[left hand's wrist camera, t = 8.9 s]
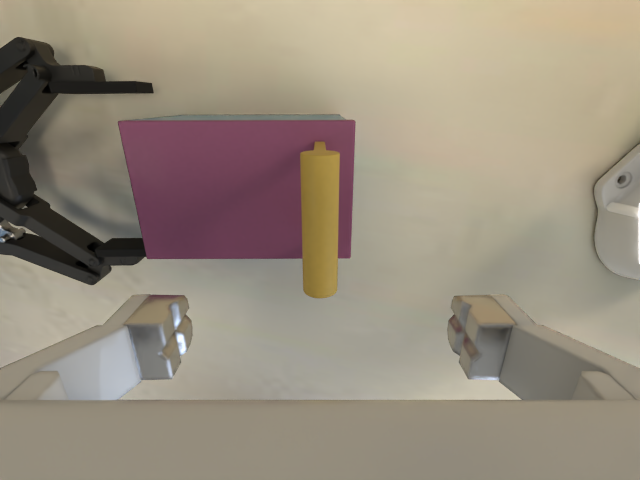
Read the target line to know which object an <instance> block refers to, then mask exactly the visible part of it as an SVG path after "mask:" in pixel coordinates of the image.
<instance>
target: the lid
mask: <svg viewBox="0 0 640 480" xmlns="http://www.w3.org/2000/svg"><path fill="white" fill-rule="evenodd" d="M118 125H119V130H120V134H121V139H122V144H123V149H124V153H125V158H126V163H127V167H128V172H129V177H130V181H131V186H132V191H133V195H134V200H135V205H136V209H137V214H138V219H139V223H140V228H141V233H142V237H143V242H144V247H145V251H146V256H147V259H297V258H303V290H304V292H305V294H307V295H308V296H310V297H313V298H327V297H330V296H332V295H334V294H335V293H336V291H337V269H338V258H350V257H351V231H352V203H353V175H354V146H355V121H354V120H125V121H118Z"/></svg>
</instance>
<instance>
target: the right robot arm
mask: <svg viewBox="0 0 640 480" xmlns="http://www.w3.org/2000/svg"><path fill="white" fill-rule="evenodd" d="M21 79H22V80H21ZM20 80H21V81H20ZM18 81H20V82H19V84H18V85H17V86H16V88H15V89H14V90H13V92H12V93H11V94H10V96H9V97H8V98H7V100H6V101H5V102H4V104H3V105H2V106H1V108H0V254H3V255H13V256H15V257H18V258H21V259H23V260H26V261H29V262H31V263H34V264H36V265H39V266H42V267H44V268H47V269H50V270H52V271H55V272H57V273H60V274H63V275H65V276H68V277H71V278H73V279H76V280H78V281H81V282H84V283H86V284H89V285H94V284H96V283H97V282H98V281H100V280H101V279H102V278H103V277H105V276H106V275H107V274H108V273H110V272H111V266H110V265H134V264H137V263H138V262H139V261H141V260H142V259H143V258H144V257H147V256H146V251H145V247H144V242H143V238H112V239H110V240H109V241H107V242H106V243H103V242H102V241H100V240H99V239H97V238H96V237H94V236H92V235H91V234H89V233H88V232H86V231H85V230H83V229H82V228H80V227H78V226H77V225H75V224H74V223H72V222H71V221H69V220H68V219H66V218H64V217H63V216H61V215H60V214H58V213H57V212H55V211H53V210H52V209H51V208H50V204H49V203H47V202H46V201H44V200H43V199H41V198H40V197H38V196H36V195H35V194H34V191H36V190H37V188H36V185H35V182H34V180H33V179H32V177H31V175H30V174H29V164H28V161H27V158H26V155H22V154H21V153H20V152H19V150H18V149H19V148H20V146H21V145H22V144H23V143H24V141H25V140H26V139H27V138H28V135H27V133H28V131H29V130H30V129H31V128H32V126H33V125H34V124H35V123H36V121H37V120H38V119H39V118H40V116H41V115H42V114H43V113H44V111H45V110H46V109H47V108H48V106H49V105H50V104H51V103H52V101H53V100H54V99H55V98H56V96H57V95H58V94H59V93H64V94H123V93H153V87H152V83H146V82H137V81H109V82H106V80H105V76H104V71H103V70H102V69H100V68H97V67H93V66H86V65H59V64H58V63H57V62H56V60H55V58H54V50H53V48H52V47H51V46H50V45H49V44H47V43H44V42H39V41H35V40H30V39H26V38H21V37H17V38H15V39H13V40H12V41H10V42H9V43H8V44H6V45H5V46H3V47H2V48H0V94H1V93H2V92H4V91H5V90H7V89H8V88H10V87H11V86H13V85H14V84H15V83H17V82H18ZM25 205H26V206H27V208H24V209H22V208H23V207H24V206H25ZM9 222H10V223H12V224H14V225H16V226H24V227H26V228H28V229H29V230H31V231H33V232H34V233H36V234H37V235H39V236H37V235H33V234H28V233H26V231H25V230H24V229H23V228H20V229H18V228H15V227H12V226H11V225H10V224H9ZM40 236H41V237H40Z"/></svg>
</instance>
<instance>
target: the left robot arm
mask: <svg viewBox="0 0 640 480" xmlns="http://www.w3.org/2000/svg"><path fill="white" fill-rule="evenodd" d="M619 177H620V180H619V181H618V178H619ZM594 196H595V201H596V205H597V208H598V217H597V222H596V227H595V234H594V241H595V248H596V251H597V254H598V256H599V258H600V260H601V262H602V263H603V264H604V265H605V266H606V267H607V268H608V269H609V270H611V271H612V272H614V273H616V274H618V275H620V276H623V277H627V278H632V279H636V280H640V143H639V144H638V145H637V146H636V147H635V148H634V149H632V150H631V151H630V152H629V153H628V154H627V155H626V156H625V157H624V158H622V159H621V160H620V161H619V162H618V163H617V164H616V165H615V166H614V167H612V168H611V169H610V170H609V171H608V172H607V173H606V174H605V175H604V176H602V177H601V178H600V179H599V180H598V182H597V183H596V185H595V187H594ZM188 309H189V304H188V300H187V298H186V297H185V296H184V295H133V296H131V297H130V298H129V299H128V300H127V301H126V302H125V303H124V304H123V305H122V306H121V307H120V308H119V309H118V310H117V311H116V312H115V313H114V314H113V315H112V316H111V317H110V318H109V319H108V320H107V321H106V322H105V323H104V324H103V325H97V326H95V327H92V328H90V329H88V330H85V331H83V332H81V333H79V334H76V335H74V336H72V337H70V338H67V339H65V340H63V341H61V342H58V343H56V344H54V345H52V346H49V347H47V348H45V349H43V350H40V351H38V352H36V353H34V354H31V355H29V356H27V357H25V358H22V359H20V360H18V361H16V362H13V363H11V364H9V365H7V366H4V367H2V368H0V480H640V368H638V367H635V366H633V365H631V364H629V363H626V362H624V361H622V360H620V359H617V358H615V357H613V356H611V355H608V354H606V353H604V352H602V351H599V350H597V349H595V348H593V347H590V346H588V345H586V344H584V343H581V342H579V341H577V340H575V339H572V338H570V337H568V336H566V335H563V334H561V333H559V332H557V331H554V330H552V329H550V328H548V327H545V326H543V325H537V324H536V323H535V322H534V321H533V320H532V319H531V318H530V317H529V316H528V315H527V314H526V313H525V312H524V311H523V310H522V309H521V308H520V307H519V306H518V305H517V304H516V303H515V302H514V301H513V300H512V299H511V298H510V297H509V296H507V295H504V294H501V295H468V296H454V298H453V300H452V304H451V309H452V311H453V312H454V315H453V316H452V317H451V318H450V320H449V321H448V329H447V331H448V340H449V343H450V346H451V348H452V350H453V352H455V353H456V354H458V355H459V356H460V359H459V363H460V365H461V367H462V369H463V370H464V372H465V374H466V376H467V378H468V379H482V380H499V382H500V383H502V384H503V385H504V386H505V387H507V388H508V389H509V390H510V391H512V392H513V393H514V394H516V395H517V396H518V397H519V398H521V399H522V400H118V399H119V398H121V397H122V396H123V395H125V394H126V393H127V392H128V391H130V390H131V389H132V388H133V387H135V386H136V385H137V384H139V383H140V382H141V380H157V379H172V378H173V376H174V374H175V372H176V370H177V369H178V367H179V365H180V363H181V359H180V356H181V355H182V354H184V353H185V352H187V350H188V348H189V346H190V344H191V339H192V321H191V320H190V319H189V317H188V316H187V315H186V312H187V311H188Z"/></svg>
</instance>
